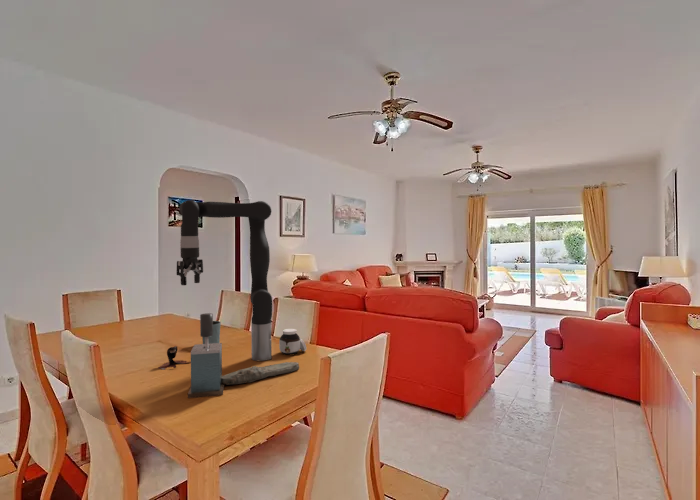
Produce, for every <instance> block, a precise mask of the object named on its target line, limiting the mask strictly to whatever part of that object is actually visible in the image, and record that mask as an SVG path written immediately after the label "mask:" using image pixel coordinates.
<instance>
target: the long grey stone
mask: <svg viewBox="0 0 700 500" xmlns="http://www.w3.org/2000/svg"><path fill="white" fill-rule="evenodd" d="M299 369H300V365H299V362H298V361H290V362H289V361H285V362H281V363H275V364H269V365H265V366H254V365H253V366H250V367H247V368H246V367H245V368H242V369H238V370H236V371H233V372H232V371H231V372H230V373H227V374H224V375H223V374H222V379H221V380H222V381H221V382H222V383H224V384H225V385H238V384H239V385H241V384H246V383H253V382H255V381H258V380H262V379H266V378H268V377H273V376H274V377H275V376H278V375H281V374H289V373H292V372H295V371H298V370H299Z"/></svg>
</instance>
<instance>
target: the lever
mask: <svg viewBox="0 0 700 500" xmlns="http://www.w3.org/2000/svg"><path fill="white" fill-rule="evenodd" d="M199 316H200V317H199V318H200V321H199V322H200V326H199V327H200V334H199V335H200V337H201V338H202V337H205V348H209V346H208V337H209V336H212V335H213V321H214V314H213V313H210V312H209V313H208V312H207V313H200V315H199Z"/></svg>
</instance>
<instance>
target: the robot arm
mask: <svg viewBox="0 0 700 500" xmlns="http://www.w3.org/2000/svg"><path fill="white" fill-rule="evenodd" d="M178 208H179V213H180V215H181V225H180V242H179V243H180V248H179V249H180V258H181V259H182V260H177V261H176V276H178V277H180V285H181V286H187V275H188V273H189V272H190V271H192V273H193V274H194V275H193V278H194V280H193V281H194V284H199V283H200V281H201V279H200V277H201V276H200V275H201V274H202V273H204V263H203V262H204V261H203V259H199V258H200V239H199V221H200V220H199V219H200V218H217V219H218V218H223V219H225V218H238V217H239V218H248V224H249V226H248V227H249V265H250V274H251V276H250V277H251V288H250V289H251V290H250V303H251V304H252V312H251V313H252V315H251V318H250V319H251V320H250V321H251V322H250V323H251V360H252V361H255V362H263V361H269V360H272V355H273V354H272V317H273V297H272V295H271V293H270V292H269V289H268V272H269V269H270V260H271V259H270V253H271V252H270V246H269V243H268V242H269V241H268V238H267V236H266V229H265V227H266V226H265V225H266V224H265V221H266V220H268V219H269V218H270V217H271V215H272V207H271V205H270V204H268V203H267V202H266V201H264V200H258V201H255V202H247V203H246V202H244V203H241V202H240V203H239V202H226V201H225V202H224V201H222V202H221V201H204V202H202V201H201V202H200V201H195V200H192V199H186V200H185V201H183V202H182V203H180V205H179V207H178Z"/></svg>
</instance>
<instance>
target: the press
mask: <svg viewBox="0 0 700 500" xmlns="http://www.w3.org/2000/svg"><path fill="white" fill-rule="evenodd" d="M222 345H223V344H222V342H220V343H212V344H208V346H209V348H205V344H203V343H201V344H200V343H197V344H194V345H193V347H192V348H191V351H190V386H189V389H188V393H187V398H188V399H191V398H192V399H194V398H203V397H204V398H206V397H215V396H223V395H224V388H225V385H226V384H224V383H222V382H221V381H222V380H221V379H222V376H223V357H222V356H223V351H222V350H223V347H222Z"/></svg>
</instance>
